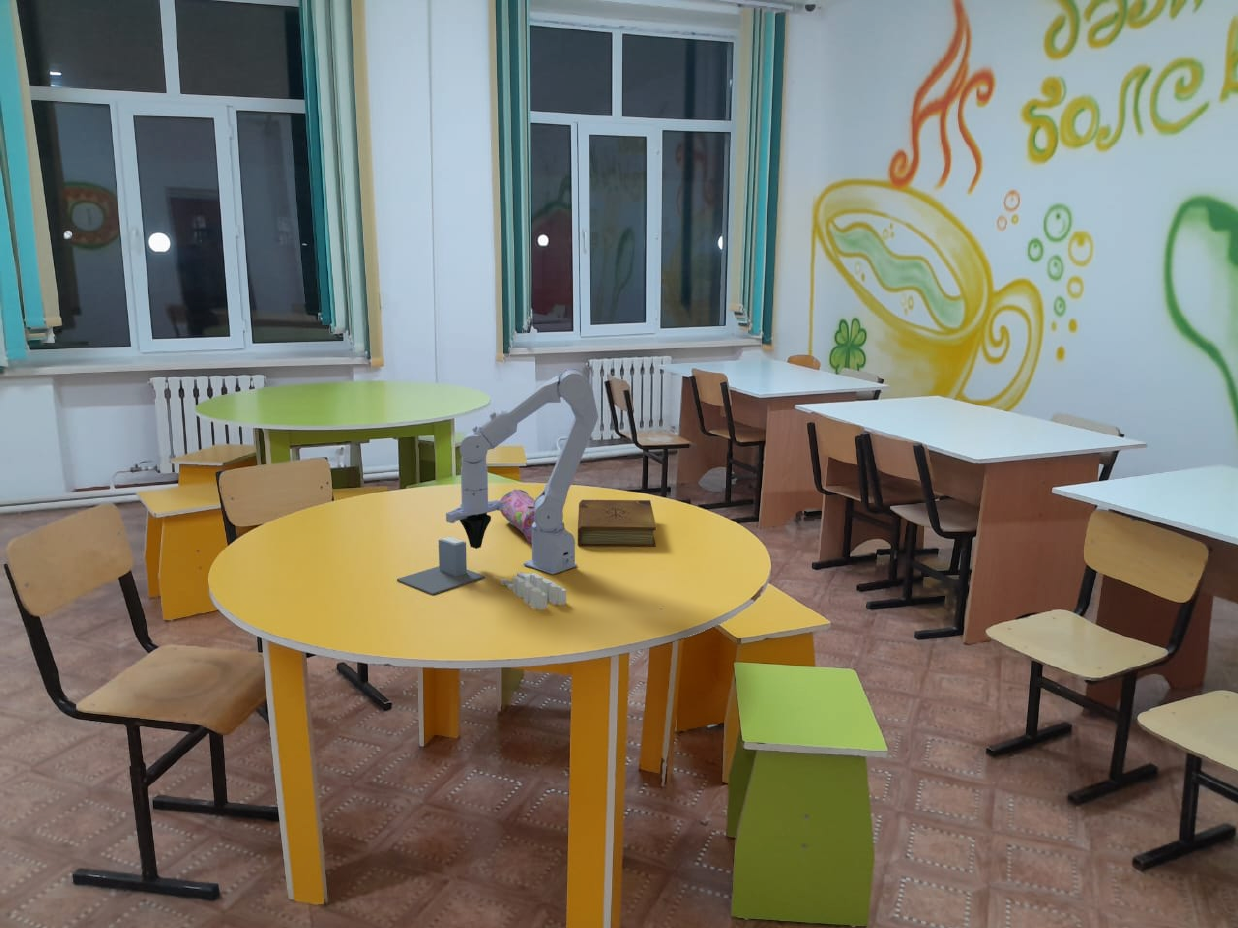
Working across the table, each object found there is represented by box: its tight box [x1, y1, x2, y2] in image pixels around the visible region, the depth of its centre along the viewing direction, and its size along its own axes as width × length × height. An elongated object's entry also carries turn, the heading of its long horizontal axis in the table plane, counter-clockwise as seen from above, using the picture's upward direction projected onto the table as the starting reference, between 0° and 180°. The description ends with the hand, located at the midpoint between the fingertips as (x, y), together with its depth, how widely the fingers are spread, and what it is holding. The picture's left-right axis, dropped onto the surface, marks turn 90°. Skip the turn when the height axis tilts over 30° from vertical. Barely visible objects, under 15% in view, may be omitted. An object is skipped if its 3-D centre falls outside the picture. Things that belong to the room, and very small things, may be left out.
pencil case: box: [499, 488, 535, 544], centre depth 225 cm, size 21×9×9 cm, turn 23°
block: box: [438, 536, 468, 576], centre depth 195 cm, size 6×3×7 cm, turn 49°
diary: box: [577, 499, 657, 548], centre depth 226 cm, size 23×19×6 cm
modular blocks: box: [500, 571, 567, 611], centre depth 186 cm, size 20×7×4 cm, turn 35°
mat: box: [396, 565, 486, 596], centre depth 192 cm, size 12×14×1 cm
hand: (475, 547), depth 200 cm, fingers closed
